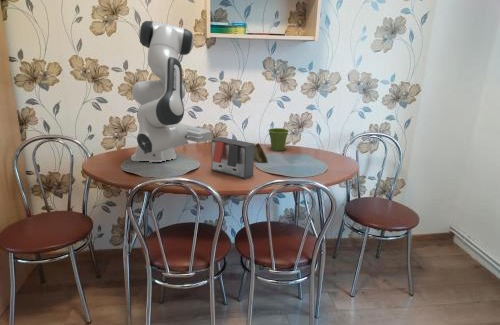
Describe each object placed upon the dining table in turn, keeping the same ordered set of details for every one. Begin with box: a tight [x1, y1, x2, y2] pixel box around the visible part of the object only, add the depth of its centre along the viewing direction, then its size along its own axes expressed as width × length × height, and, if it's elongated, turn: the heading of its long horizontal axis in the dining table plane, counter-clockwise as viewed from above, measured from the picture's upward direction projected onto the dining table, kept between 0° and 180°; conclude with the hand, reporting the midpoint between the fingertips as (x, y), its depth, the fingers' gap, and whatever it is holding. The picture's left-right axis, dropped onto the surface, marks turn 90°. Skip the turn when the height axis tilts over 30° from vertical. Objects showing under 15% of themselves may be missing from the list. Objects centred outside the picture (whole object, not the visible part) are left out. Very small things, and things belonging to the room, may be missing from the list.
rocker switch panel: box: [211, 136, 255, 180], centre depth 161 cm, size 7×19×15 cm, turn 57°
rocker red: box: [213, 142, 224, 163], centre depth 159 cm, size 2×4×9 cm, turn 57°
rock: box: [254, 142, 269, 163], centre depth 184 cm, size 11×9×10 cm
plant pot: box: [267, 127, 290, 152], centre depth 203 cm, size 12×12×11 cm
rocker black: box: [227, 145, 239, 167], centre depth 155 cm, size 2×4×9 cm, turn 56°
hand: (200, 128), depth 146 cm, fingers closed
